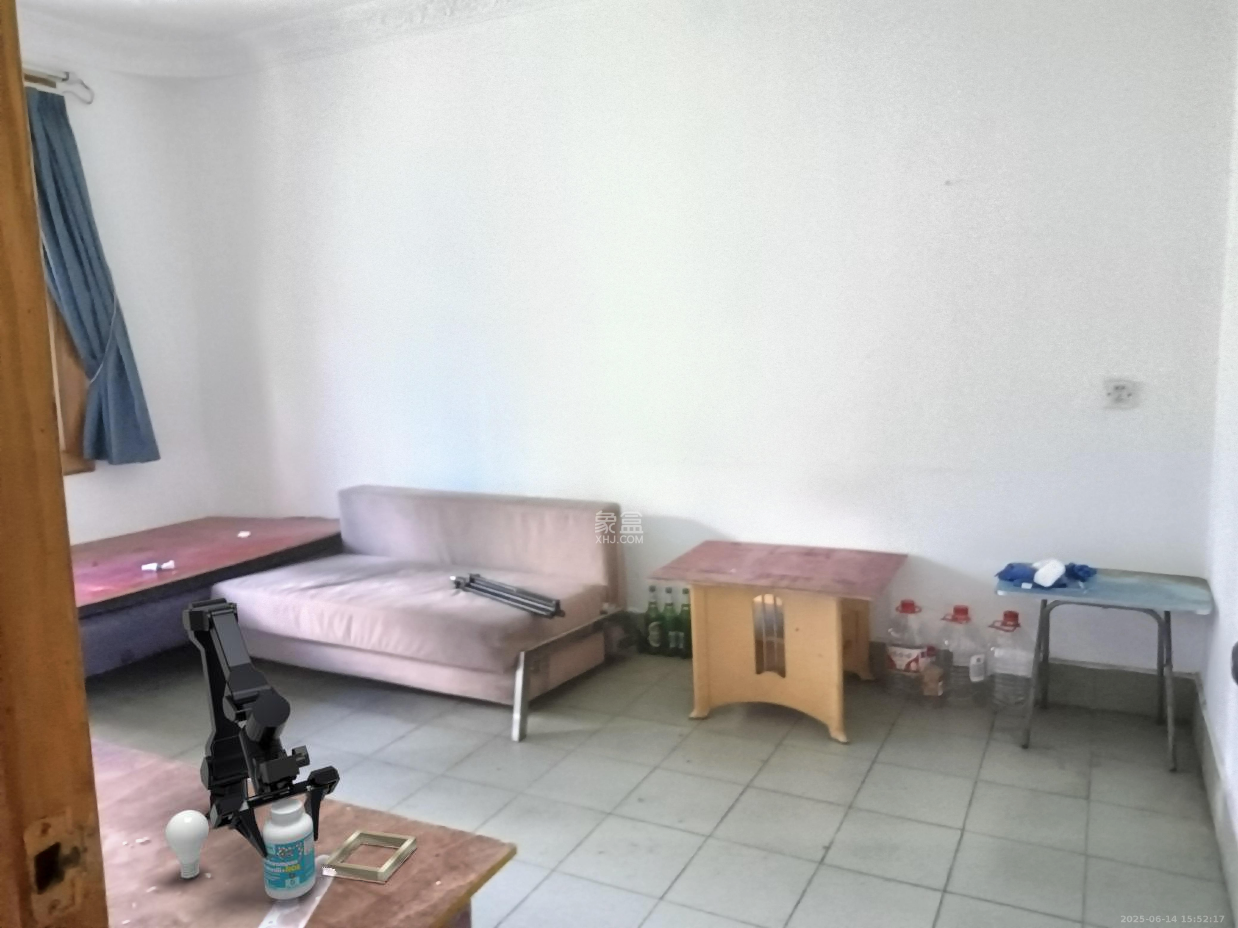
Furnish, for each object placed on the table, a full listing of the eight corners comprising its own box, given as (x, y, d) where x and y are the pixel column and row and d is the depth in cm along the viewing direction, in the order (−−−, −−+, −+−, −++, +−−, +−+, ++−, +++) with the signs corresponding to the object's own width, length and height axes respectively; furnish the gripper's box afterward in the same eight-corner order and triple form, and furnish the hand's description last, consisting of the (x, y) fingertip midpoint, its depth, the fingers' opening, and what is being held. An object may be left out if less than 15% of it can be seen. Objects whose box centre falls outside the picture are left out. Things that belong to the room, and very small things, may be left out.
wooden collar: (358, 839, 158) (358, 829, 158) (416, 847, 155) (416, 836, 155) (322, 874, 148) (321, 863, 148) (383, 884, 145) (383, 872, 145)
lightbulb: (170, 870, 150) (165, 806, 148) (213, 862, 152) (208, 799, 151) (166, 891, 144) (161, 825, 143) (211, 883, 146) (206, 817, 145)
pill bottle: (256, 900, 139) (250, 816, 138) (279, 872, 147) (274, 792, 145) (303, 903, 138) (297, 818, 137) (324, 875, 146) (319, 794, 144)
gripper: (210, 748, 137) (235, 850, 130) (332, 717, 148) (362, 808, 141) (200, 779, 144) (224, 877, 137) (318, 747, 155) (345, 835, 148)
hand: (291, 848), depth 141 cm, fingers closed on pill bottle, 7 cm apart
